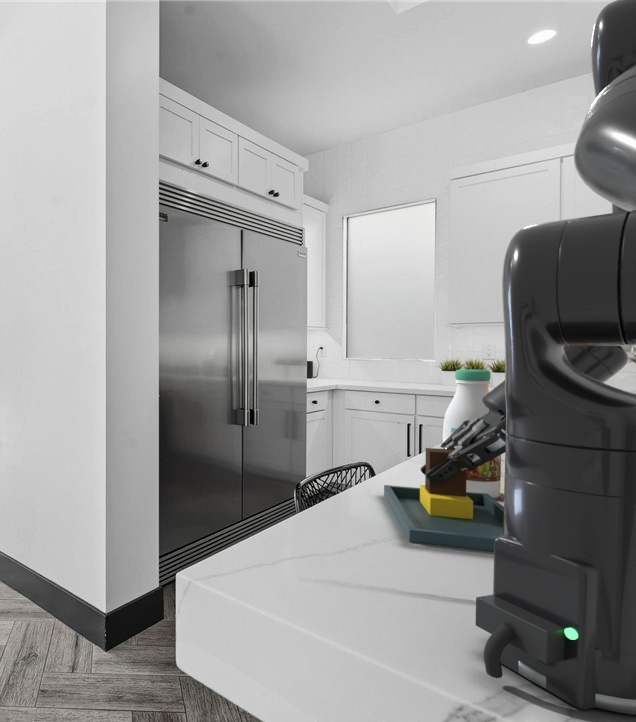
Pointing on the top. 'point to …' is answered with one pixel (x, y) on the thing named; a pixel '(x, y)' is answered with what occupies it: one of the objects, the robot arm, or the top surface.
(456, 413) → the milk bottle
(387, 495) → the tray
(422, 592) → the top surface
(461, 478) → the block on yellow base
